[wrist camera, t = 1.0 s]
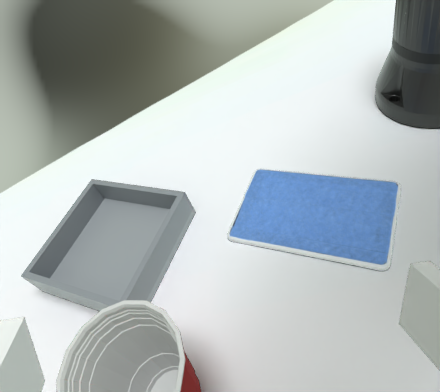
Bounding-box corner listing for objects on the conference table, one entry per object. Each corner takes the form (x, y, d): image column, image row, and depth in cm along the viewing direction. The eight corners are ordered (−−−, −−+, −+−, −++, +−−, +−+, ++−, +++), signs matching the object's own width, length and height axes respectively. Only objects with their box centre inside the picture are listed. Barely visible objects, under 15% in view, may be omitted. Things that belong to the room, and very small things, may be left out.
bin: (106, 197, 58) (91, 179, 55) (195, 212, 51) (184, 192, 48) (42, 291, 50) (20, 276, 46) (139, 325, 42) (121, 309, 39)
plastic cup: (104, 444, 35) (21, 423, 27) (150, 334, 41) (95, 288, 32) (203, 490, 31) (144, 483, 22) (239, 360, 37) (204, 314, 28)
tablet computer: (226, 242, 47) (223, 237, 46) (256, 171, 54) (255, 165, 53) (389, 276, 39) (389, 270, 38) (401, 186, 45) (402, 179, 44)
